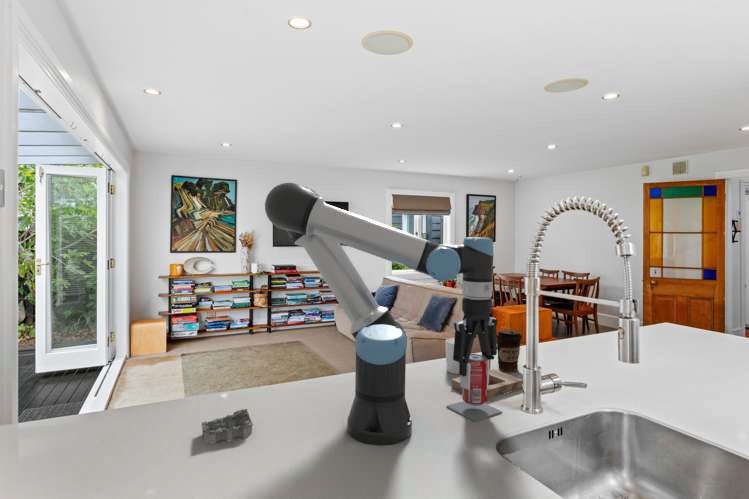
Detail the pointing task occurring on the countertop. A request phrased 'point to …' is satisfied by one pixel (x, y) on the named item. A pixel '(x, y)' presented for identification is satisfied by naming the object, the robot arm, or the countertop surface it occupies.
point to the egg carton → (217, 430)
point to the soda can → (476, 381)
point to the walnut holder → (496, 383)
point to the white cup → (451, 357)
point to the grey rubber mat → (474, 410)
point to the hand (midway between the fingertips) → (474, 385)
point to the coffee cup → (508, 349)
